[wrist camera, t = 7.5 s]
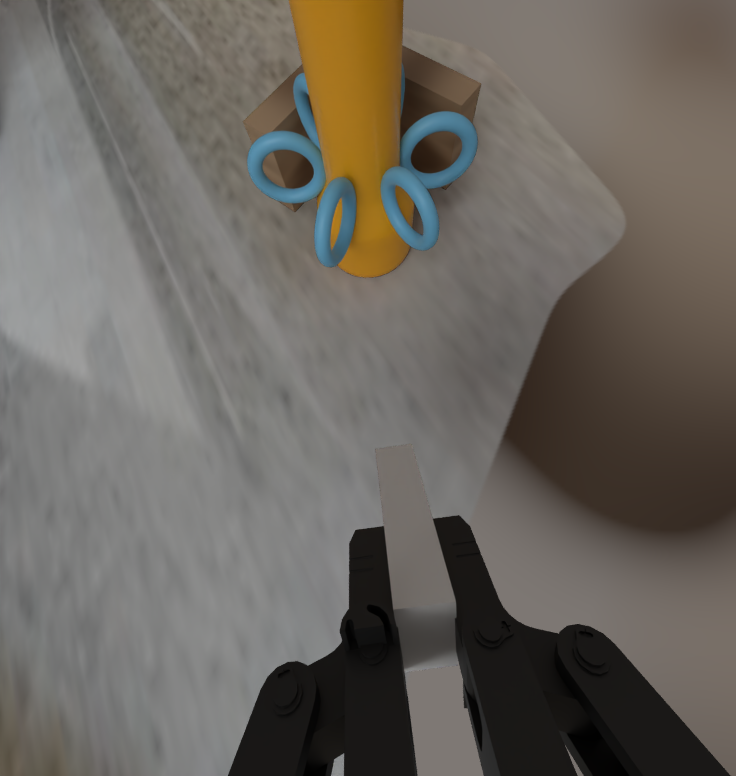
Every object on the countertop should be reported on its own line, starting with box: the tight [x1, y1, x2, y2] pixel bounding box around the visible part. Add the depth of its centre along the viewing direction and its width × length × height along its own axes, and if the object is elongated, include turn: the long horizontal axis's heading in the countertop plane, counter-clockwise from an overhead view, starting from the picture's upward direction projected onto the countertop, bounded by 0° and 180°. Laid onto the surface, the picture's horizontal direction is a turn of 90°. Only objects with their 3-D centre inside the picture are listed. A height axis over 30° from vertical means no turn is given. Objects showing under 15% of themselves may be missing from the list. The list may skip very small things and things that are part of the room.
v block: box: [243, 46, 481, 212], centre depth 24 cm, size 9×14×6 cm, turn 97°
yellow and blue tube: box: [247, 0, 478, 278], centre depth 18 cm, size 12×10×15 cm
